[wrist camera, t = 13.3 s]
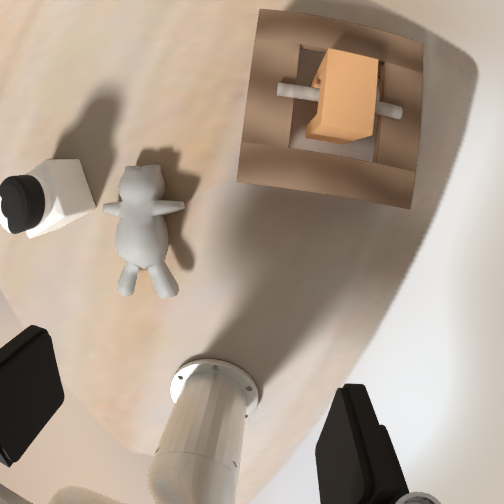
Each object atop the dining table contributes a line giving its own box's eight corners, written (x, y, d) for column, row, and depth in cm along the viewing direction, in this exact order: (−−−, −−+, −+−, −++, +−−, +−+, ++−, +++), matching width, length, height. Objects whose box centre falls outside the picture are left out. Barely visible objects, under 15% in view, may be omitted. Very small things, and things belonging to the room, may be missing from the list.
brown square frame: (382, 200, 34) (415, 211, 25) (244, 179, 35) (235, 182, 26) (395, 65, 30) (427, 39, 21) (262, 39, 30) (259, 2, 21)
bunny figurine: (176, 160, 31) (178, 305, 33) (188, 166, 36) (190, 292, 38) (97, 167, 31) (101, 299, 33) (117, 171, 36) (120, 289, 38)
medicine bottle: (80, 157, 35) (18, 158, 23) (97, 208, 36) (38, 225, 25) (44, 181, 36) (-18, 190, 24) (60, 228, 37) (1, 249, 26)
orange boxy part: (341, 144, 32) (372, 135, 21) (305, 137, 32) (320, 125, 21) (347, 89, 30) (378, 59, 20) (311, 82, 30) (328, 48, 20)
